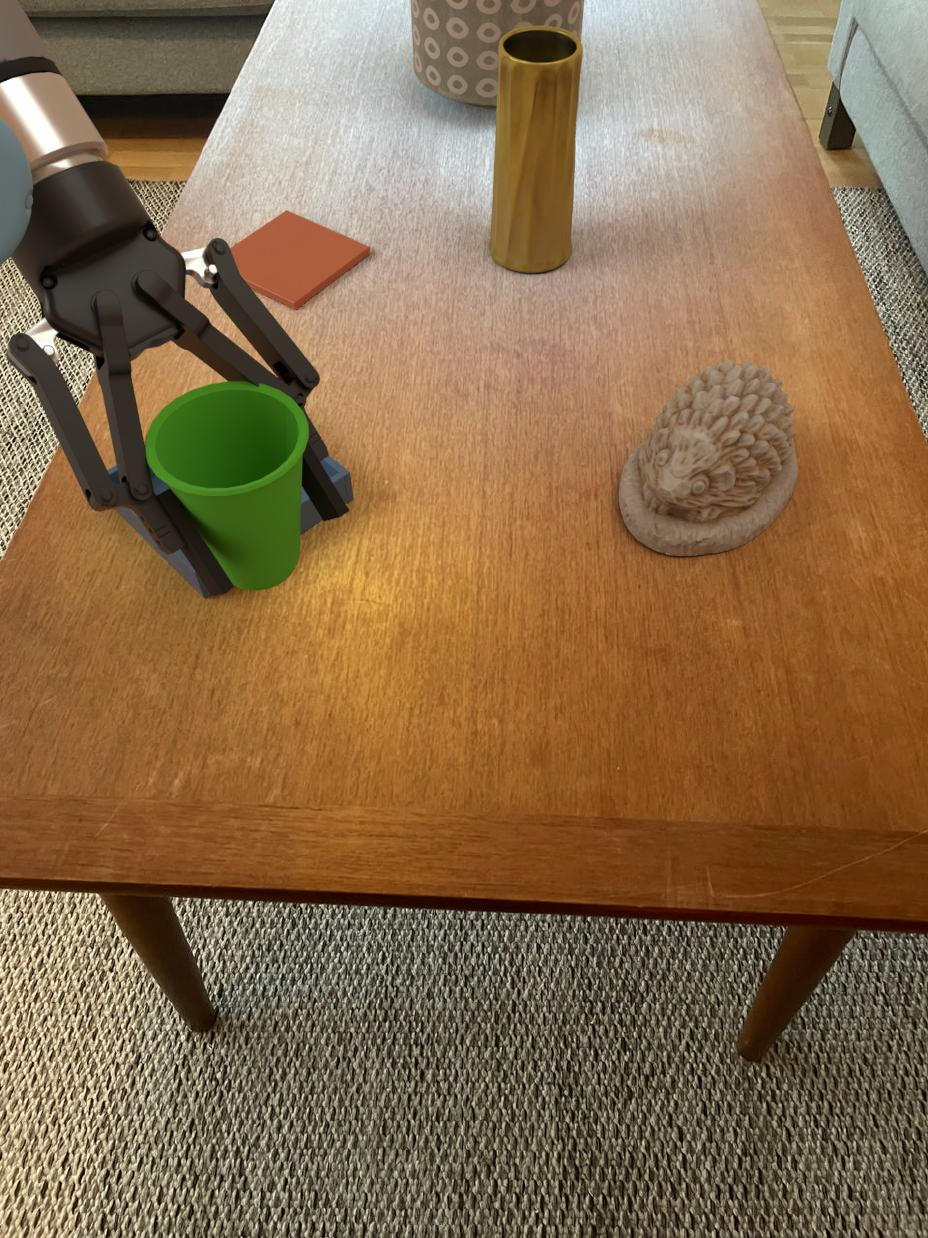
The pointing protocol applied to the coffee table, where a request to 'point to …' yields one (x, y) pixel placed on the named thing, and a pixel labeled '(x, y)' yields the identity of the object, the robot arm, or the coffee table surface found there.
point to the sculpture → (712, 464)
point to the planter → (476, 41)
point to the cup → (236, 474)
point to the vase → (535, 148)
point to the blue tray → (178, 559)
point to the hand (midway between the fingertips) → (281, 552)
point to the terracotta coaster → (295, 258)
